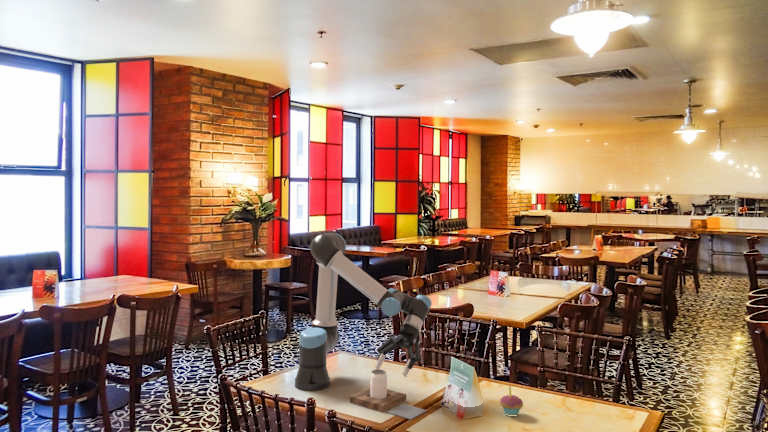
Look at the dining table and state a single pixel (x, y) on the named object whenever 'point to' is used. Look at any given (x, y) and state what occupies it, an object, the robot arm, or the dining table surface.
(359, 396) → the holder
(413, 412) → the mat
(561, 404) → the dining table surface
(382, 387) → the can
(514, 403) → the cupcake
